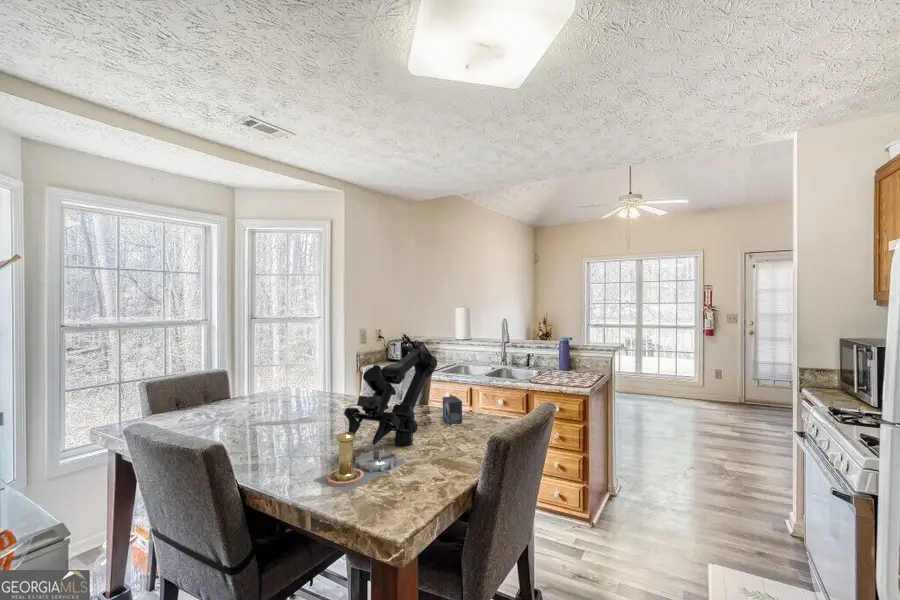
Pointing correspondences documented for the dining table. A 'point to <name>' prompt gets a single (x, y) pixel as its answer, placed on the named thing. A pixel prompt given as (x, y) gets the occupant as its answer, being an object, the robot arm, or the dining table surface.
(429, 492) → the dining table surface
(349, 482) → the gear board
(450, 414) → the small box
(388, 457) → the gear
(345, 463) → the gold piece
